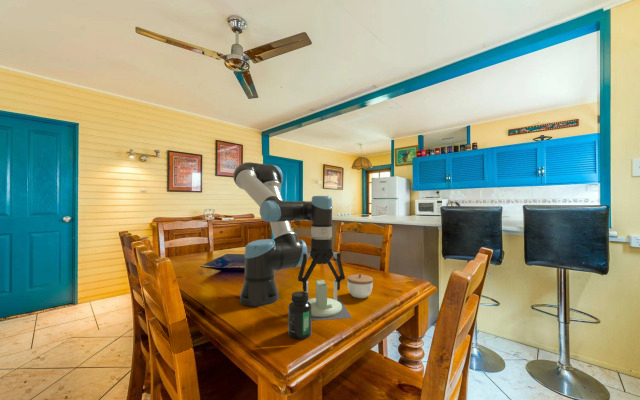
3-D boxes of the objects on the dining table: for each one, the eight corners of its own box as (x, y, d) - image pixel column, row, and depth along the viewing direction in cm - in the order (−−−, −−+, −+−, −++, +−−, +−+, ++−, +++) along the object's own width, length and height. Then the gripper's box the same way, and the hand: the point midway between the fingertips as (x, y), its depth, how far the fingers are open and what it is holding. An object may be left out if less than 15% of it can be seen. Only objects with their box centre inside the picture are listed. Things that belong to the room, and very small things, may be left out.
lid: (302, 318, 85) (302, 290, 85) (299, 301, 100) (299, 277, 100) (346, 316, 87) (346, 289, 87) (337, 299, 102) (337, 276, 102)
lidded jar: (373, 302, 101) (373, 278, 101) (345, 300, 103) (345, 276, 103) (373, 293, 111) (373, 271, 111) (348, 291, 114) (348, 269, 114)
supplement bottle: (312, 340, 72) (312, 297, 72) (287, 341, 72) (287, 298, 72) (310, 329, 79) (311, 289, 79) (288, 329, 79) (288, 290, 79)
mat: (298, 322, 83) (298, 321, 83) (295, 301, 101) (295, 300, 101) (351, 319, 86) (352, 317, 86) (339, 299, 104) (339, 298, 104)
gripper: (291, 239, 89) (290, 305, 88) (354, 238, 92) (353, 301, 92) (290, 237, 96) (290, 297, 96) (348, 236, 99) (348, 294, 99)
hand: (321, 299), depth 94 cm, fingers open, 10 cm apart
